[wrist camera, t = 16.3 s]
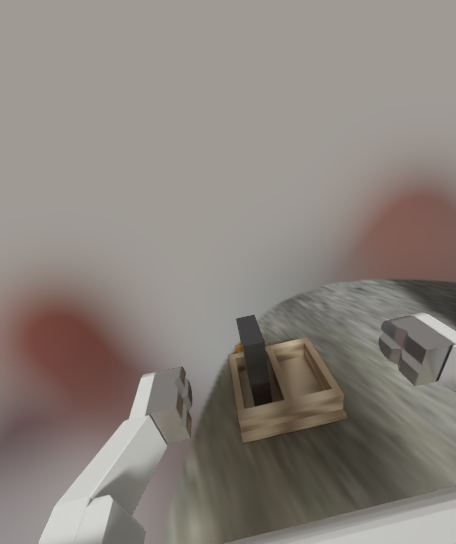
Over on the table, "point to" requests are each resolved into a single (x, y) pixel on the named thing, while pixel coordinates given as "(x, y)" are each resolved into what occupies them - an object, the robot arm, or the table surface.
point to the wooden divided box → (287, 392)
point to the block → (255, 359)
